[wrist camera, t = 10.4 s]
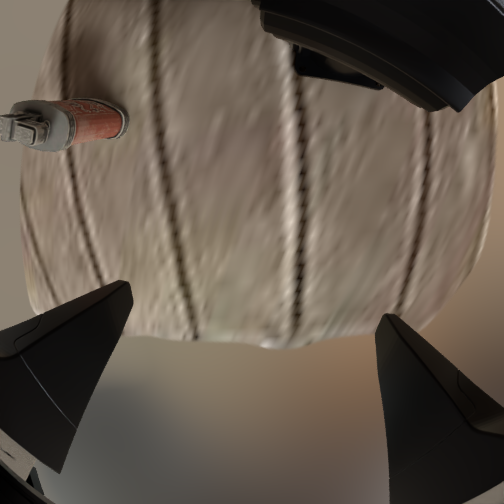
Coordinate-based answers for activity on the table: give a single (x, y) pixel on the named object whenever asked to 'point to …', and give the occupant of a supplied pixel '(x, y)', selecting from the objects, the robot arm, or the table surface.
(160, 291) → the table surface
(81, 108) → the lighter
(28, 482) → the robot arm
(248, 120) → the table surface
